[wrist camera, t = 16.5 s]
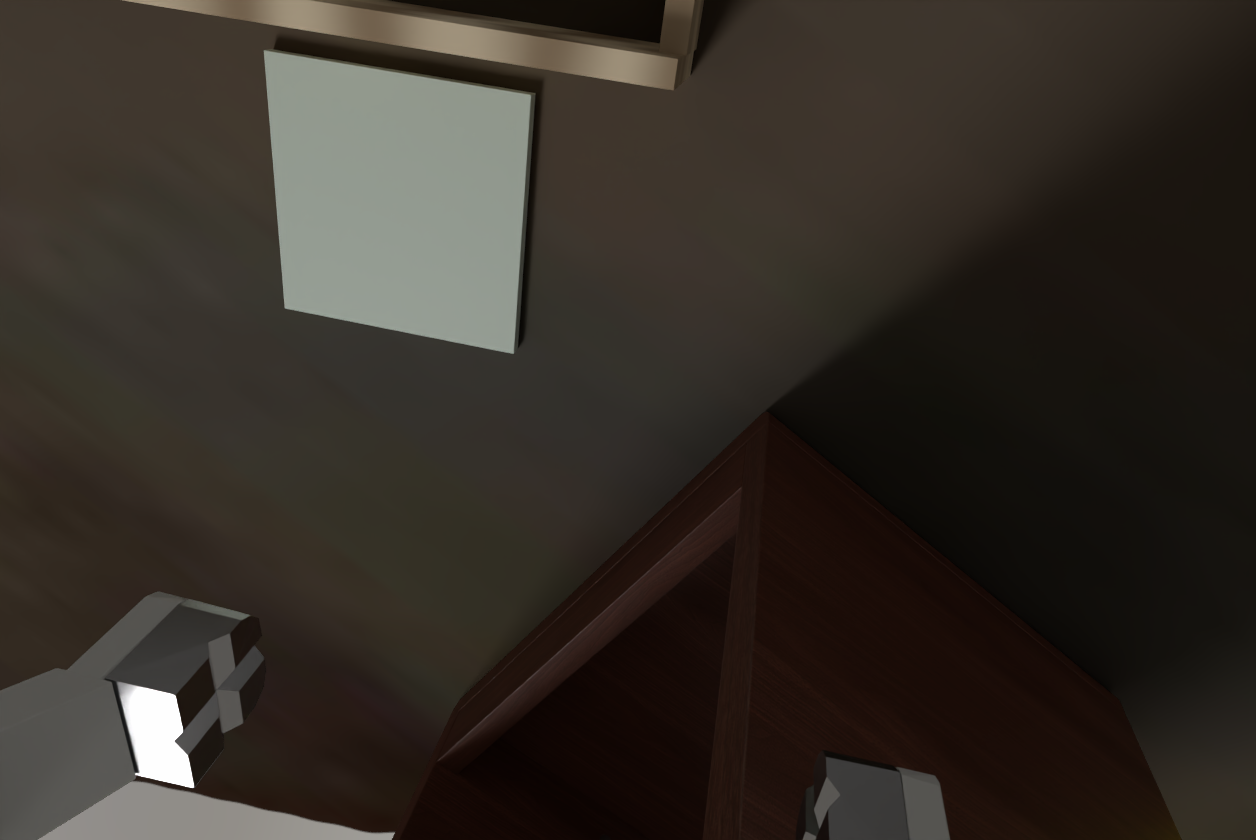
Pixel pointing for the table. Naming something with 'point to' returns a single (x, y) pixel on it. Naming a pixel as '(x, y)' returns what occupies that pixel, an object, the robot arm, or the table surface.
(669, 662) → the storage cube
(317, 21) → the frame
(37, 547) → the table surface
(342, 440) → the table surface
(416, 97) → the sage board
